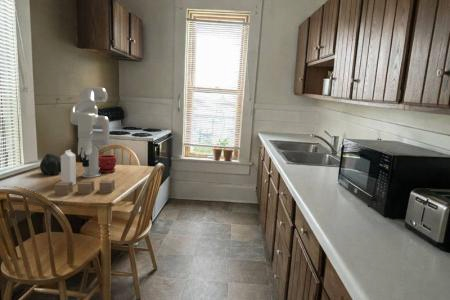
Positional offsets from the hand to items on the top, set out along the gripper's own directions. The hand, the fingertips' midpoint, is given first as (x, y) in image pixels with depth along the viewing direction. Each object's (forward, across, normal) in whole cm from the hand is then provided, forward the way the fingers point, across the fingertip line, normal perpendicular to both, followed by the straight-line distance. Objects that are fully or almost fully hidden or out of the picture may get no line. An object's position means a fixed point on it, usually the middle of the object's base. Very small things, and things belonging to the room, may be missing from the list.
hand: (85, 166), depth 175 cm
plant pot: (+14, -52, -2) cm, 53 cm away
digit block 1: (+15, +2, -11) cm, 19 cm away
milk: (+15, -14, -15) cm, 26 cm away
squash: (+14, -40, -36) cm, 56 cm away
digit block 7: (+15, -5, +11) cm, 19 cm away
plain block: (+15, -1, 0) cm, 16 cm away
